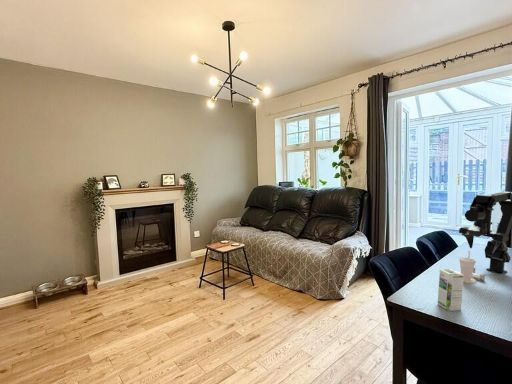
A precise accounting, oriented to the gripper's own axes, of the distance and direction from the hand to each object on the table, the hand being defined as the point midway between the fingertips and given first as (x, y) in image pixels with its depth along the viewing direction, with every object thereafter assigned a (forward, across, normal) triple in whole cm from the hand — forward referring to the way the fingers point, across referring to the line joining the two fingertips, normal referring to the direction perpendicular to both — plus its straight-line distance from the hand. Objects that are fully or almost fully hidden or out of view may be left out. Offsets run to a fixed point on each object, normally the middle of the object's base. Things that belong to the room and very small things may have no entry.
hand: (481, 250), depth 136 cm
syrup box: (+13, +13, -45) cm, 49 cm away
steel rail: (+13, 0, -3) cm, 13 cm away
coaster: (+13, 0, -11) cm, 17 cm away
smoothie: (+13, 0, -11) cm, 17 cm away
